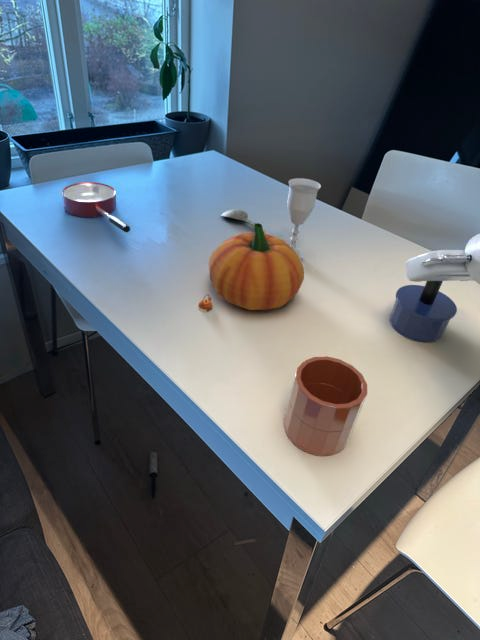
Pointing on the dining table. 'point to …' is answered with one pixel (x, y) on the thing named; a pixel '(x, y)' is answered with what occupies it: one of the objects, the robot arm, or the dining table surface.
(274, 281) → the pumpkin
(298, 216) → the chalice
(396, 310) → the blue round container
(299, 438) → the pot
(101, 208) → the frying pan
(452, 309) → the lid
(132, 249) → the dining table surface
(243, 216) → the soupspoon
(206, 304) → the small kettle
